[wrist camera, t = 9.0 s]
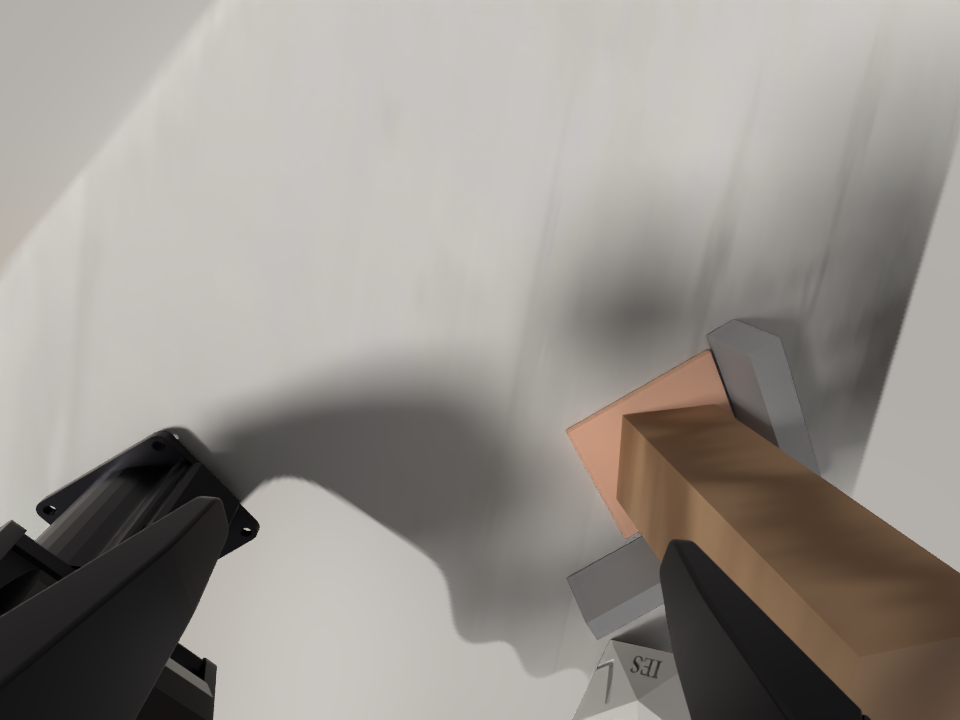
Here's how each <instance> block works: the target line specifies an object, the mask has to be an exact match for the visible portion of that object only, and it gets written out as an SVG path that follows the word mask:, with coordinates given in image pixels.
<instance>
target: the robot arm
mask: <svg viewBox="0 0 960 720" xmlns="http://www.w3.org/2000/svg"><path fill="white" fill-rule="evenodd" d="M157 441H162V442H163V443H164V444H165V445H166V446H165V447H163V446H160V445H158V443H157ZM50 506H53V507H55V508H56V509H53V508H51V507H50ZM36 512H37V514H38V515H39V516H40V517H41V518H43V519H44V520H45V521H46V522H48V523H49V524H50V526H49V527H48V528H47V529H46V530H45V531H44V532H43V533H42V534H41V535H40V536H39V537H38V538H37V539H36V540H35V541H34V540H33V539H31V538H30V537H28V536H27V535H25V534H24V533H25V532H26V531H27V530H26V529H24V528H23V527H21V526H20V525H18V524H17V523H16V522H14V521H13V520H10V521H9V522H7V523H6V524H4V525H3V526H1V527H0V720H213V712H214V698H215V685H216V670H217V666H216V665H215V664H214V663H212V662H211V661H209V660H208V659H207V658H203V659H201V658H199V657H198V656H196V655H195V654H193V653H192V652H191V651H189V650H188V649H186V648H185V647H184V646H182V645H181V644H179V643H178V641H179V640H180V638H181V636H182V634H183V632H184V631H185V629H186V627H187V625H188V623H189V622H190V619H191V618H192V616H193V614H194V612H195V610H196V608H197V606H198V603H199V601H200V599H201V597H202V594H203V592H204V590H205V587H206V585H207V583H208V581H209V578H210V576H211V574H212V571H213V569H214V567H215V565H216V562H217V560H218V559H220V558H221V557H223V556H225V555H226V554H228V553H230V552H232V551H233V550H235V549H237V548H239V547H240V546H242V545H244V544H246V543H247V542H249V541H251V540H252V539H254V538H255V537H256V535H257V533H258V530H259V528H260V527H259V523H258V522H257V520H256V519H255V518H254V517H253V516H252V515H251V514H250V513H249V512H248V511H247V510H246V509H245V508H244V507H243V506H242V505H241V504H240V503H239V500H238V499H237V498H236V497H235V496H234V495H233V494H232V493H231V492H230V491H229V490H228V489H227V488H226V487H225V486H224V485H223V484H222V483H221V482H220V481H219V480H218V479H217V478H216V477H215V476H214V475H213V474H212V473H211V472H210V471H209V470H208V469H207V468H206V467H205V466H204V465H203V464H201V463H200V462H199V461H198V460H197V459H196V458H195V457H194V456H193V455H192V454H191V453H190V452H189V451H188V450H187V449H186V448H185V447H184V446H183V445H182V444H181V443H180V442H179V441H178V440H177V439H176V438H175V437H174V436H173V435H172V434H170V433H168V432H165V431H158V432H155V433H153V434H152V435H150V436H148V437H147V438H145V439H143V440H142V441H140V442H138V443H137V444H135V445H133V446H131V447H130V448H128V449H126V450H125V451H123V452H121V453H120V454H118V455H116V456H114V457H113V458H111V459H109V460H108V461H106V462H104V463H103V464H101V465H99V466H98V467H96V468H94V469H92V470H91V471H89V472H87V473H86V474H84V475H82V476H81V477H79V478H77V479H75V480H74V481H72V482H70V483H69V484H67V485H65V486H64V487H62V488H60V489H59V490H57V491H55V492H53V493H52V494H50V495H48V496H47V497H45V498H44V499H43V500H42V501H41V502H40V503H39V504H38V505H37V507H36ZM243 528H249V529H251V531H246V530H244V529H243ZM659 575H660V583H661V589H662V594H663V600H664V606H665V611H666V617H667V623H668V628H669V634H670V640H671V645H672V650H673V655H674V660H675V664H676V668H677V672H678V675H679V679H680V682H681V686H682V689H683V693H684V696H685V700H686V703H687V707H688V711H689V714H690V718H691V720H871V719H870V718H869V717H868V716H867V715H865V714H862V710H861V709H860V708H859V707H858V706H857V705H856V704H855V703H854V702H853V701H852V700H851V699H850V698H849V697H848V696H847V695H846V694H845V693H844V692H843V691H842V690H841V689H840V688H839V687H838V686H837V685H836V684H835V683H834V682H833V681H832V680H831V679H830V678H829V677H828V676H827V675H826V674H825V673H824V672H823V671H822V670H821V669H820V668H819V667H818V666H817V665H816V664H815V663H814V662H813V661H812V660H811V659H810V658H809V657H808V656H807V655H806V654H805V653H804V652H803V651H802V650H801V649H800V648H799V647H798V646H797V645H796V644H795V643H794V642H793V641H792V640H791V639H790V638H789V637H788V636H787V635H786V634H785V633H784V632H783V631H782V630H781V629H780V628H779V627H778V626H777V625H776V624H775V623H774V622H773V621H772V619H771V618H770V617H769V616H768V615H767V614H766V613H765V612H764V611H763V610H762V609H761V608H760V607H759V606H758V605H757V604H756V603H755V602H754V601H753V600H752V599H751V598H750V597H749V596H748V595H747V594H746V593H745V592H744V591H743V590H742V589H741V588H740V587H739V586H738V585H737V584H736V583H735V582H734V581H733V580H732V579H731V578H730V577H729V576H728V575H727V574H726V573H725V572H724V571H723V570H722V569H721V568H720V567H719V566H718V565H717V564H716V563H715V562H714V561H713V560H712V559H711V558H710V557H709V556H708V555H707V554H706V553H705V552H704V551H703V550H702V549H701V548H700V547H699V546H698V545H697V544H696V543H694V542H693V541H691V540H683V539H672V540H670V541H669V543H668V546H667V548H666V551H665V554H664V557H663V559H662V562H661V565H660V571H659Z"/></svg>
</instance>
